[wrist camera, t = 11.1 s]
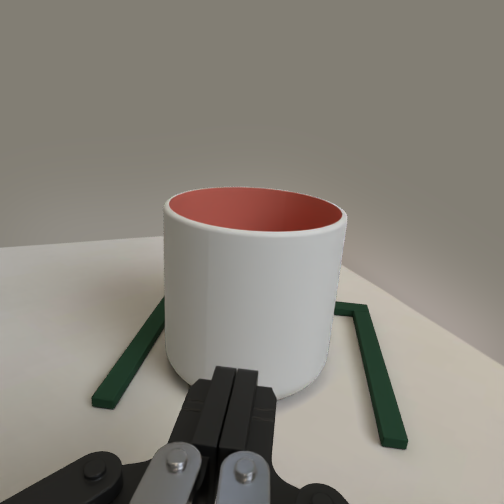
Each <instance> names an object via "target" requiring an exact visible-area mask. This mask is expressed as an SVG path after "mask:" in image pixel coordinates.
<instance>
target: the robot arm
mask: <svg viewBox="0 0 504 504" xmlns="http://www.w3.org/2000/svg"><path fill="white" fill-rule="evenodd" d="M257 385H258V371H257V370H249V369H241V368H238V370H237V368H232V367H224V366H216V367H215V370H214V373H213V376H212V379H211V380H208V379H200V378H199V379H198V380H197V381H196V382H195V383H194V384H193V385H192V386H191V387H190V388H189V390H188V393H187V395H186V398H185V401H184V403H183V406H182V409H181V411H180V413H179V416H178V418H177V421H176V423H175V426H174V428H173V431H172V433H171V436H170V438H169V441H168V443H167V444H166V445H164V446H163V447H161V448H160V449H159V450H158V451H157V452H156V453H155V455H154V456H153V458H152V459H150V460H147V461H144V462H140V463H133V464H126V465H122V463H121V460H120V459H119V458H118V457H117V456H116V455H115V454H113V453H110V452H105V451H100V452H94V453H90V454H88V455H86V456H84V457H82V458H80V459H78V460H76V461H75V462H73V463H71V464H69V465H67V466H66V467H64V468H62V469H60V470H58V471H57V472H55V473H53V474H51V475H49V476H48V477H46V478H44V479H42V480H40V481H39V482H37V483H35V484H33V485H32V486H30V487H28V488H26V489H24V490H23V491H21V492H19V493H17V494H15V495H14V496H12V497H10V498H8V499H6V500H5V501H3V502H1V503H0V504H215V500H216V504H349V503H348V502H347V501H346V500H345V499H344V497H343V496H342V495H341V494H340V493H339V492H338V491H336V490H335V489H334V488H332V487H330V486H327V485H325V484H319V483H312V484H308V485H306V486H304V487H302V488H301V489H298V488H296V487H294V486H292V485H290V484H288V483H286V482H285V481H284V480H282V479H281V478H280V477H279V476H278V475H277V473H276V472H275V470H274V468H273V466H272V446H273V435H274V424H275V412H276V401H277V398H276V396H275V394H274V392H273V389H272V387H264V386H257ZM216 496H217V498H216Z"/></svg>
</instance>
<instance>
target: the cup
mask: <svg viewBox="0 0 504 504" xmlns="http://www.w3.org/2000/svg"><path fill="white" fill-rule="evenodd" d="M163 218H164V220H163V222H164V223H163V224H164V293H165V347H166V352H167V356H168V359H169V361H170V363H171V365H172V367H173V368H174V370H175V371H176V372H177V374H178V375H179V376H180V377H181V378H182V379H183V380H184V381H186V382H187V383H188V384H190V385H191V386H192V385H193V384H194V383H195V382H196V381H197V380H198V379H199V378H200V379H208V380H211V379H212V376H213V373H214V370H215V367H216V366H224V367H232V368H237V370H238V368H241V369H249V370H257V371H258V385H257V386H264V387H272V389H273V392H274V394H275V396H276V398H277V400H278V399H282V398H285V397H288V396H290V395H293V394H295V393H297V392H299V391H300V390H302V389H304V388H305V387H307V386H308V385H309V384H311V383H312V382H313V381H314V380H315V379H316V378H317V376H318V375H319V374H320V372H321V371H322V369H323V367H324V365H325V363H326V360H327V356H328V349H329V343H330V336H331V329H332V322H333V315H334V309H335V302H336V295H337V288H338V281H339V275H340V268H341V261H342V254H343V247H344V241H345V233H346V227H347V220H348V218H347V215H346V213H345V212H344V210H343V209H342V208H340V207H339V206H337V205H335V204H333V203H331V202H329V201H326V200H324V199H321V198H317V197H314V196H310V195H306V194H302V193H297V192H291V191H285V190H277V189H268V188H255V187H214V188H204V189H196V190H191V191H187V192H182V193H179V194H176V195H174V196H172V197H170V198H169V199H168V200H167V201H166V202H165V203H164V206H163Z"/></svg>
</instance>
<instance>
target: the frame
mask: <svg viewBox="0 0 504 504" xmlns="http://www.w3.org/2000/svg"><path fill="white" fill-rule="evenodd" d="M334 314H335V315H344V316H353V320H354V324H355V329H356V333H357V338H358V342H359V347H360V351H361V356H362V360H363V364H364V369H365V373H366V378H367V382H368V387H369V391H370V396H371V400H372V405H373V409H374V414H375V418H376V423H377V427H378V432H379V436H380V440H381V445H382V446H385V447H392V448H399V449H406V448H407V444H408V438H407V435H406V431H405V428H404V425H403V422H402V418H401V415H400V412H399V409H398V405H397V402H396V399H395V395H394V392H393V389H392V386H391V382H390V379H389V376H388V373H387V369H386V366H385V363H384V359H383V356H382V353H381V350H380V346H379V343H378V340H377V336H376V333H375V330H374V327H373V323H372V320H371V317H370V314H369V310H368V307H367V305H364V304H355V303H346V302H335V309H334ZM164 327H165V296H164V297H163V298H162V300H161V301H160V303H159V304H158V305H157V307H156V308H155V310H154V311H153V312H152V314H151V315H150V317H149V318H148V319H147V321H146V322H145V324H144V325H143V326H142V328H141V329H140V331H139V332H138V333H137V335H136V336H135V338H134V339H133V340H132V342H131V343H130V345H129V346H128V347H127V349H126V350H125V351H124V353H123V354H122V356H121V357H120V358H119V360H118V361H117V363H116V364H115V365H114V367H113V368H112V370H111V371H110V372H109V374H108V375H107V377H106V378H105V379H104V381H103V382H102V384H101V385H100V386H99V388H98V389H97V391H96V392H95V393H94V395H93V396H92V406H95V407H102V408H109V409H114V408H115V406H116V404H117V403H118V401H119V400H120V398H121V396H122V395H123V393H124V392H125V390H126V388H127V387H128V385H129V383H130V382H131V380H132V379H133V377H134V375H135V374H136V372H137V370H138V369H139V367H140V366H141V364H142V362H143V361H144V359H145V358H146V356H147V354H148V353H149V351H150V349H151V348H152V346H153V345H154V343H155V341H156V340H157V338H158V337H159V335H160V333H161V332H162V330H163V328H164Z"/></svg>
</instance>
